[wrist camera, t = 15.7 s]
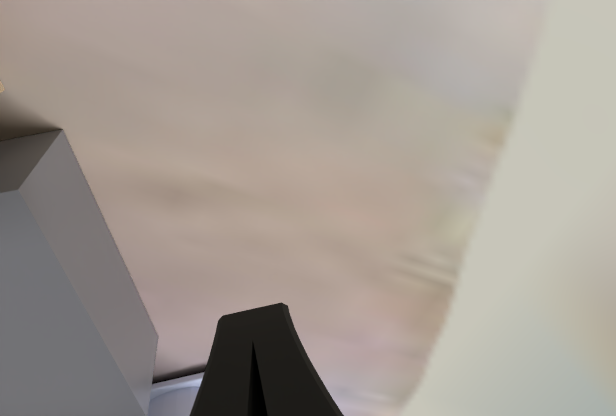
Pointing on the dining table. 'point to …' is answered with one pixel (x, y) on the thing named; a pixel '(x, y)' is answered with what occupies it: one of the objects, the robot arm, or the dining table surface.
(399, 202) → the dining table surface
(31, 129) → the dining table surface
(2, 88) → the beige cube
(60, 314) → the block
